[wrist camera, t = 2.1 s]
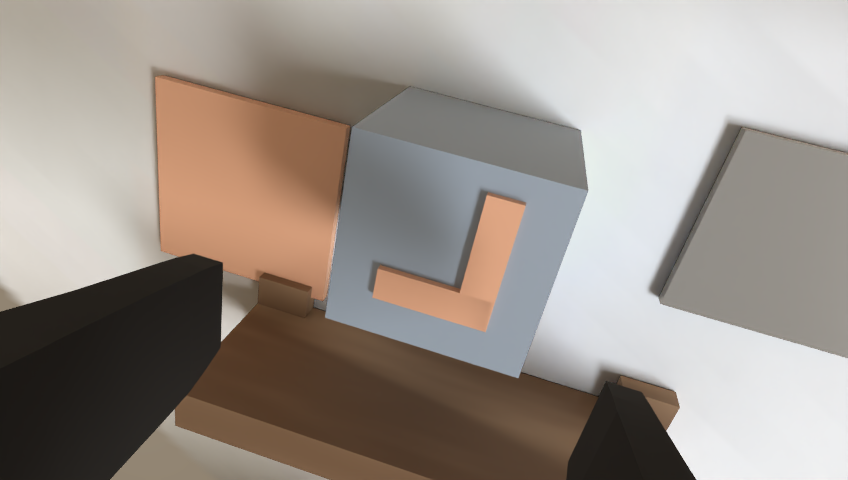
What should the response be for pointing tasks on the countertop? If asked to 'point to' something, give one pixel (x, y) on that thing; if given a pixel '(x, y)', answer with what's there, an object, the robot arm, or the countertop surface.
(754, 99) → the countertop surface
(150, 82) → the countertop surface
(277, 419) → the walnut screen
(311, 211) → the terracotta tile
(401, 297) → the lettered cube
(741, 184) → the grey slate tile
